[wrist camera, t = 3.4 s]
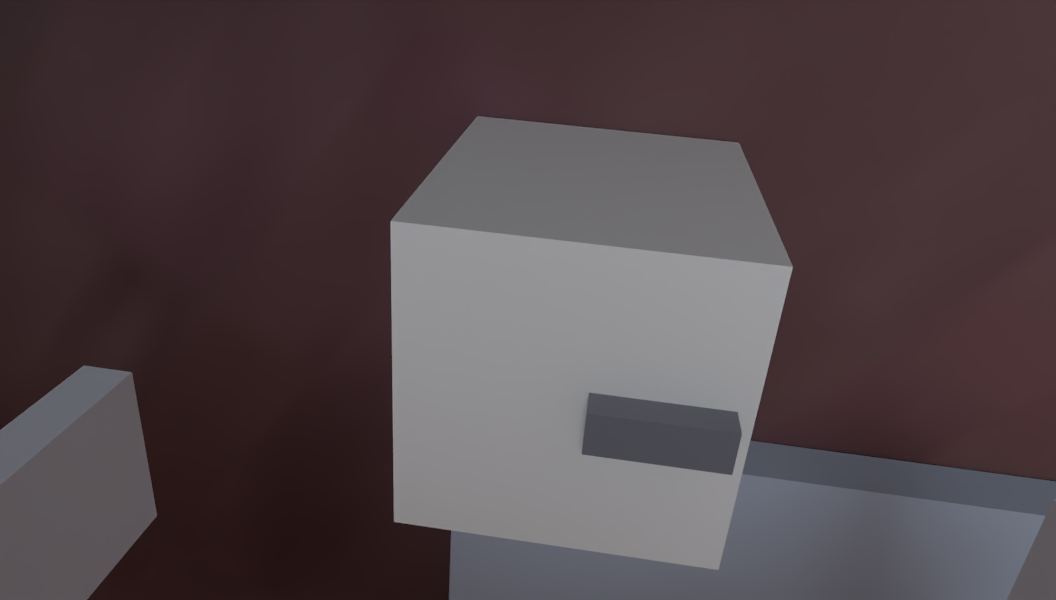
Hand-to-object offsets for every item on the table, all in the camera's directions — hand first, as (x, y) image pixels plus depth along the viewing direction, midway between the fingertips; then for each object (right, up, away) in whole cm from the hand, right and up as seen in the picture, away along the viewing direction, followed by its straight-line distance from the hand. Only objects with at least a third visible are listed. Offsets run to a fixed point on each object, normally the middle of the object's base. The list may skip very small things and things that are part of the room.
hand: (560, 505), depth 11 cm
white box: (+1, +4, +8) cm, 9 cm away
